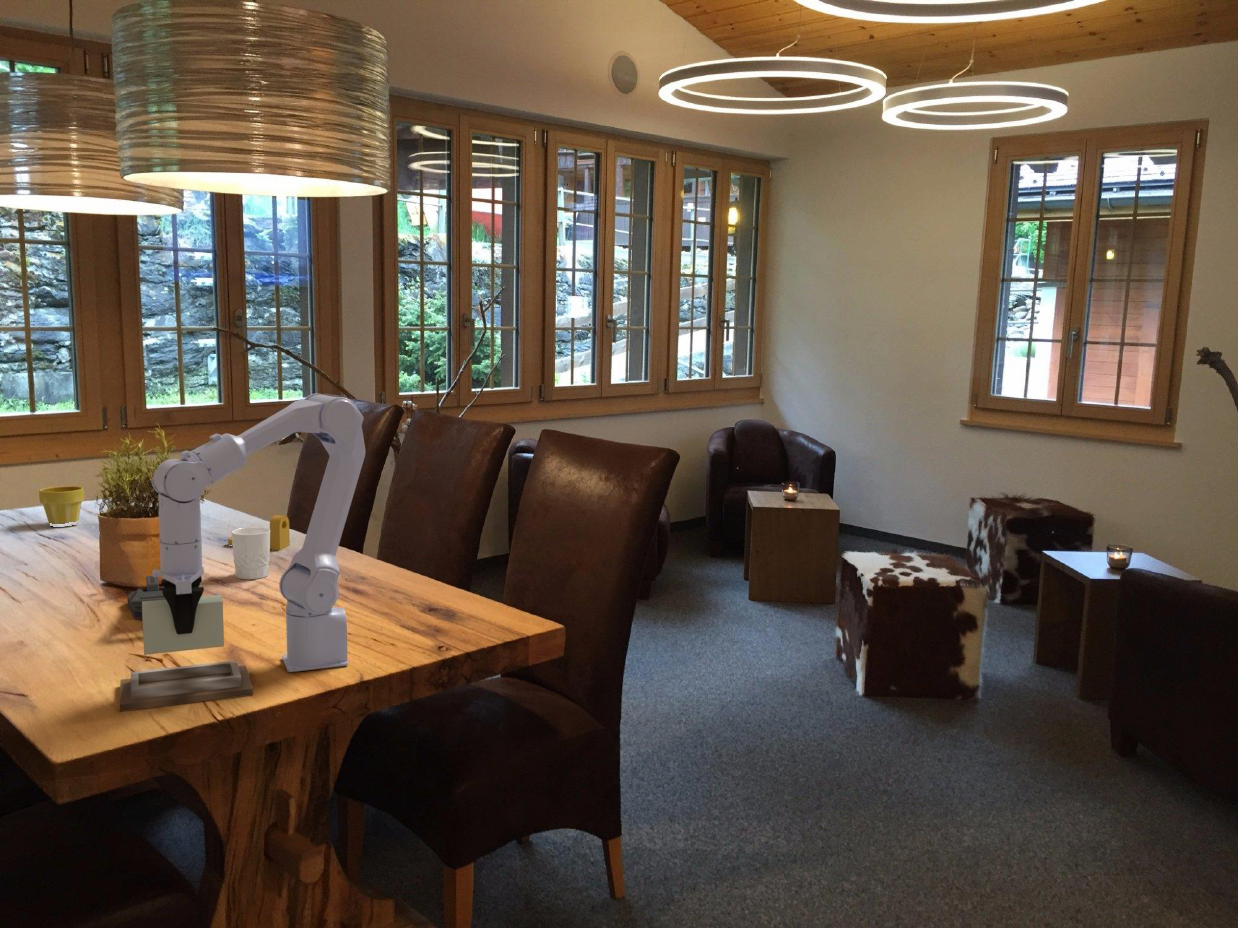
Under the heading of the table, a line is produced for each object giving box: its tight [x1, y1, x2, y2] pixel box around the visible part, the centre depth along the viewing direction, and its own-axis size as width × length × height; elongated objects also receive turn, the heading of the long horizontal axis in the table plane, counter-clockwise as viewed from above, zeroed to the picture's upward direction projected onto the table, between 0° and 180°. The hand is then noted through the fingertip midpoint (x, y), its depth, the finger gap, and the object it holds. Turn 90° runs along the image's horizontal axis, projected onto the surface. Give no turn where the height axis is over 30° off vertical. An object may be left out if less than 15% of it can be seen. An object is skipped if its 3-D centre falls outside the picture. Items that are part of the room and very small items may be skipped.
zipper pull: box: [126, 575, 166, 621], centre depth 191 cm, size 9×7×25 cm
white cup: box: [231, 526, 271, 581], centre depth 222 cm, size 8×8×10 cm
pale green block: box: [142, 594, 225, 656], centre depth 154 cm, size 11×4×7 cm, turn 115°
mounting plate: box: [119, 660, 254, 712], centre depth 154 cm, size 18×11×2 cm, turn 115°
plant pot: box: [38, 485, 85, 524], centre depth 268 cm, size 10×10×10 cm
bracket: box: [227, 515, 291, 551], centre depth 249 cm, size 15×4×8 cm, turn 77°
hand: (183, 628), depth 154 cm, fingers closed on pale green block, 4 cm apart
